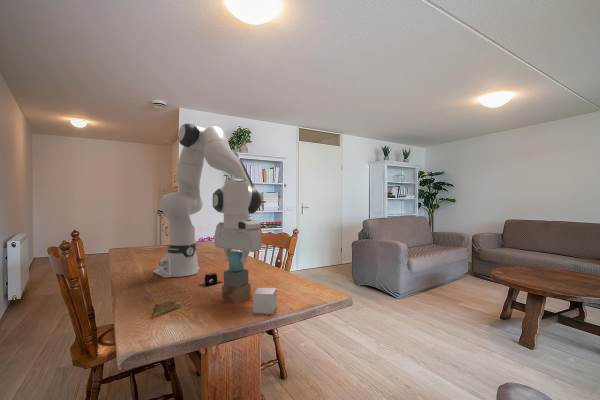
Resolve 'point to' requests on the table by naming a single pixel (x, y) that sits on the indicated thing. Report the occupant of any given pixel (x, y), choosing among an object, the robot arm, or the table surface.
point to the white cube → (265, 300)
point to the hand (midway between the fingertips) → (236, 262)
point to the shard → (165, 307)
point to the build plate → (212, 282)
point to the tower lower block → (235, 293)
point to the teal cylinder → (235, 261)
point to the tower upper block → (235, 278)
